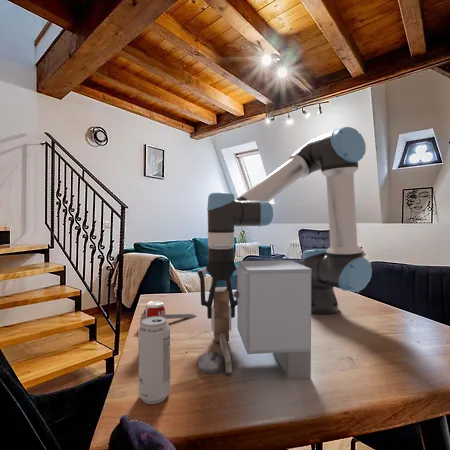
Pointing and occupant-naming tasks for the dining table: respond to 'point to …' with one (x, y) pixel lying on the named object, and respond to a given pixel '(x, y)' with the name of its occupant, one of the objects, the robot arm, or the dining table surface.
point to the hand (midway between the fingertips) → (221, 328)
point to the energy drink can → (154, 359)
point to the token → (211, 363)
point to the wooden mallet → (222, 323)
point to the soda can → (155, 309)
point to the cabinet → (276, 312)
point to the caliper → (170, 316)
